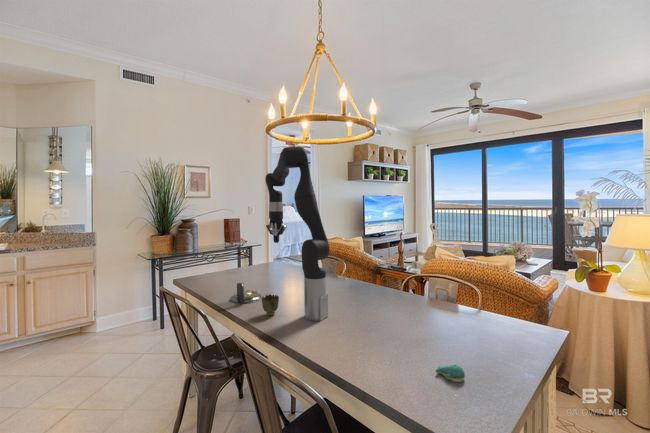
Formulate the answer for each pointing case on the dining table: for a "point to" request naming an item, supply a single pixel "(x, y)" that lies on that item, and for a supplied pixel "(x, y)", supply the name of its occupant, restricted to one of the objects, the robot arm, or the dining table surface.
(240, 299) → the golden ring with handle
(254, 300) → the steel flange
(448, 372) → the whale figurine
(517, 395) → the dining table surface
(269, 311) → the cup
